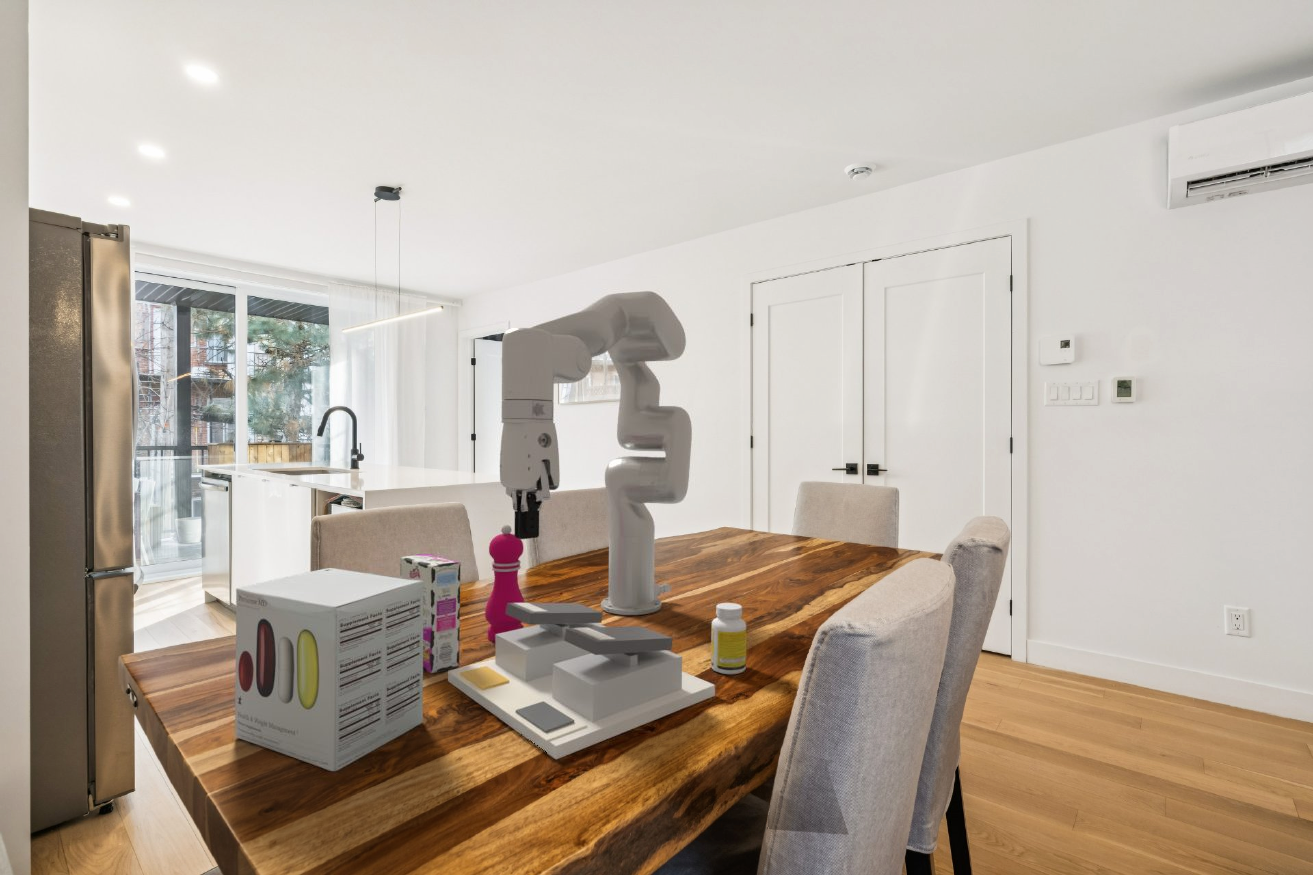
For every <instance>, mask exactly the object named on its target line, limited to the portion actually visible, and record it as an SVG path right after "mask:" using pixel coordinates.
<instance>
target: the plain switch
mask: <svg viewBox="0 0 1313 875" xmlns="http://www.w3.org/2000/svg"><path fill="white" fill-rule="evenodd" d="M673 639H674V638H673V637H671V636H668V635H666V634H664V633H660V632H658V631H655V630H652V629H649V628H647V627H643V626H640V625H633V626H606V627H593V628H566V632H565V639H564V641H566V642H568V643H570V644H573V645H575V646H577V647H579V648H581V649H583V650H586V651H588V652H590V653H592V654H594V655H605V654H619V653H634V652H649V651H663V650H667V651H671V650H672V648H673V641H674V640H673Z"/></svg>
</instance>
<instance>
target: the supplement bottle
mask: <svg viewBox="0 0 1313 875" xmlns="http://www.w3.org/2000/svg"><path fill="white" fill-rule="evenodd" d="M715 609H716V610H715V615H716V616H717V617H716V618H714V619H713V620H712V621H711V640H710V641H711V644H710V650H711V651H710V652H711V653H710V664H711V668H712V670H713V671H715V672H717V673H719V674H724V675H737V674H741V673H743V672H745V670H746V668H747V623H746V622H745V620H744V619H742V618H741V617H742V615H743V606H742V605H741V604H739V603H735V602H734V603H732V602H721V603H718V604H716V606H715Z"/></svg>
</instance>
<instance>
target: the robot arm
mask: <svg viewBox="0 0 1313 875" xmlns="http://www.w3.org/2000/svg"><path fill="white" fill-rule="evenodd" d="M504 332H505V333H504V334H503V336H502V339H501V340H502V342H501V424H503V425H502V432H501V441H500V453H499V481H500V484H501V485H502V486H503V487H504V488H505V494H506V495H507V496H509V497H510V498H511V502H512V509H513V510H514V533H513V534H514V536H515V538H519V539H521V540H527V539H536V538H538V537H539V536H540V511H541V510H542V504H543V502H544V501H547V500H550V499H551V493H550V492H551V491H555V490H558V488H559V487H560V481H561V480H560V474H561V472H560V454H559V441H558V435H557V429H556V424H555V422H554V410H555V409H554V398H555V397H554V394H555V393H554V390H555V389H554V388H555V387H554V386H555V384H573V383H577V382H580V381H582V380H583V379H585V378H586V377H587V376H588V374H589V373H590V371H591V368H592V365H593V364H592V363H593V358H594V357H598V356H601V355H603V354H605V353H606V352H607V353H608V355H609V357H610V360H611V362H612V364H613V366H614V369H615V372H616V373H617V375H618V378H619V382H620V393H619V394H620V395H619V404H618V405H619V406H618V417H617V427H616V428H617V429H616V437H617V442H618V445H619V446H620V447H621V448H623V449H624V450H628V451H637V452H663V453H665V456H663V457H661V456H660V457H658V456H641V455H639V456H635V455H634V456H633V455H632V456H631V455H628V456H626V455H625V456H619V457H617V458H615V459H612V460H611V461H610V462H609V463H608V465H607V466H606V468H605V471H604V483H605V491H606V496H607V503H608V518H609V520H608V523H609V524H608V526H609V527H608V529H609V530H608V531H609V532H608V597H605V598H603V600H601V602H600V607H601V609H602V610H603V611H605V612H607V613H608V614H614V615H620V616H641V615H647V614H652V613H655V612H656V613H657V612H658V611H659V610H660V609H662V601H661V600H660V598H659V596H661V594H667V593H670V592H671V591H672V588H671V585H670V584H669V583H663V584H658V583H656V582H655V532H656V530H655V529H656V528H655V527H656V526H655V521H654V518H653V516H652V514H651V512H650V511H649V509H648V508H647V506H646V505H645V504H664V505H665V504H666V505H671V504H672V505H673V504H675V505H676V504H679V503H681V502H683V501H684V499H685V498H686V496H687V493H688V489H689V481H690V480H689V479H690V467H691V452H692V439H693V437H692V436H693V432H692V431H693V428H692V421H691V417H690V415H689V412H688V411H687V410H685V409H684V408H683V407H680V406H676V405H660V395H661V393H660V392H661V384H660V382H659V379H658V378H657V376H656V375H655V373H654V372H653V371H652V369H650V367H649V366H648V365H647V364H646V363H645V362H667V361H674V360H675V361H676V360H677V359H679V358H680V357H682V355H683V354H684V352H685V349H686V346H687V345H686V344H687V342H686V341H687V339H686V338H687V337H686V333H685V329H684V327H683V325H682V323H681V321H680V320H679V318H678V317H677V315H676V313H675V312H674V311H673V309H672V307H671V306H670V305H669V303H667V302H666V300H665V299H664V298H663V297H662V296H661V295H659V294H658V293H656V292H654V291H651V290H650V291H648V290H647V291H645V290H644V291H632V292H618V293H611V294H606V295H604V296H602V297H600V298H599V299H597V300H595V301H594V302H592V303H591V304H589V305H588V306H587V307H584V308H583V309H581V310H579V311H577V312H573V313H570V314H568V315H564V316H561V317H559V318H556V319H552V320H549V321H546V322H543V323H539V324H536V325H534V326H532V327H518V328H517V327H516V328H511V329H508V330H507V331H504Z"/></svg>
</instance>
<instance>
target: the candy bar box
mask: <svg viewBox="0 0 1313 875" xmlns="http://www.w3.org/2000/svg"><path fill="white" fill-rule="evenodd" d="M399 577H400V578H407V579H413V580H421V581H423V583H424V585H423V671H426V672H427V673H430V674H431V675H432V674H436V673H440V672H444V671H449V670H453V669H454V668H455V669H456V668H459V666H460V633H461V631H460V628H461V627H460V625H461V624H460V621H461V620H460V617H461V614H460V612H461V562H460V561H456V560H452V559H449V558H445V557H442V556H438V555H435V554H429V553H420V554H411V555H406V556H401V557H400V576H399Z"/></svg>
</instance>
